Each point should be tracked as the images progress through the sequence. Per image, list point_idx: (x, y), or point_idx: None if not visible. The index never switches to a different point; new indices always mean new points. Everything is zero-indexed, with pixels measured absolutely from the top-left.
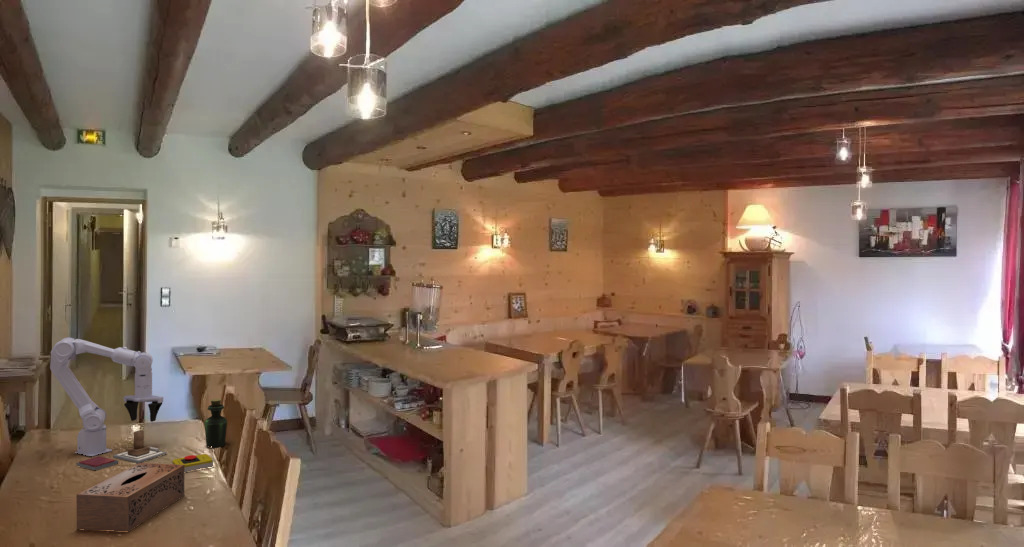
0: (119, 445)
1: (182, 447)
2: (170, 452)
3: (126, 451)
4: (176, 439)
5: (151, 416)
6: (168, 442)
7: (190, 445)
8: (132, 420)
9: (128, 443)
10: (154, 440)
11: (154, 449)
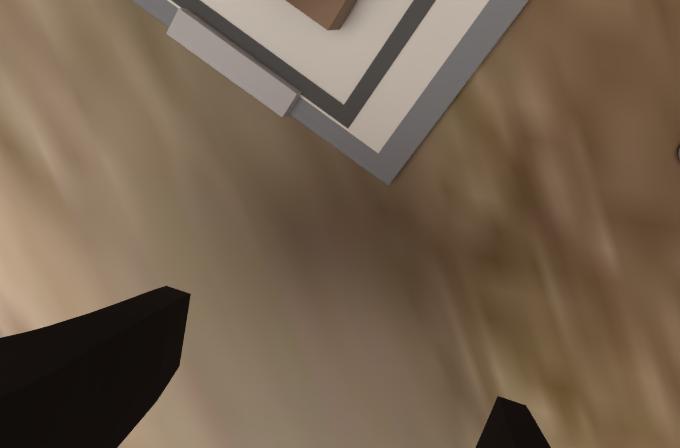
0: (647, 339)
1: (64, 173)
2: (91, 33)
3: (491, 45)
4: (207, 401)
5: (111, 314)
6: (235, 336)
7: (30, 219)
8: (506, 403)
9: (575, 382)
10: (371, 416)
11: (202, 23)
